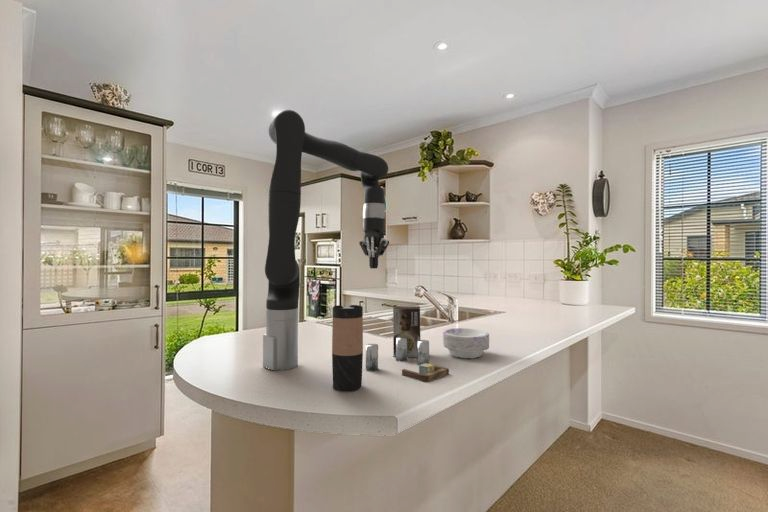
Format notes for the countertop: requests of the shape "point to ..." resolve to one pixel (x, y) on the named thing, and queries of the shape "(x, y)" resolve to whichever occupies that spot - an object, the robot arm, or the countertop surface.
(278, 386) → the countertop surface
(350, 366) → the travel mug
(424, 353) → the spacer
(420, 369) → the alphabet block
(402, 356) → the block
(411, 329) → the coffee box
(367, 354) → the spacer
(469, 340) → the marble bowl
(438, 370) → the tray
